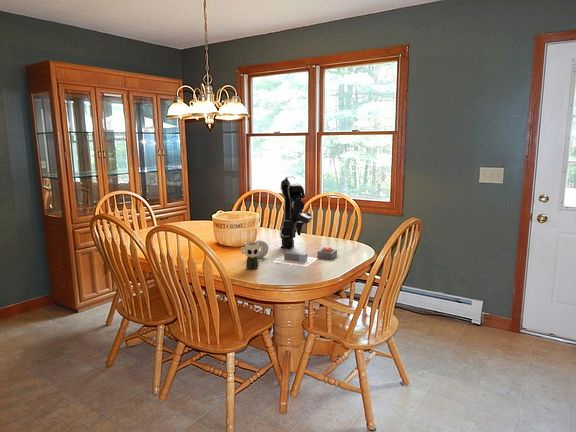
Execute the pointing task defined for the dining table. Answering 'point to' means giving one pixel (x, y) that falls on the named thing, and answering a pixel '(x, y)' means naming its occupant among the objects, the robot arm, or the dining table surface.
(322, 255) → the button housing
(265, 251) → the donut
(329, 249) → the button
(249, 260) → the big-eyed character figurine
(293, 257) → the gray rectangular block
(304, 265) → the paper sheet
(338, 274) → the dining table surface
